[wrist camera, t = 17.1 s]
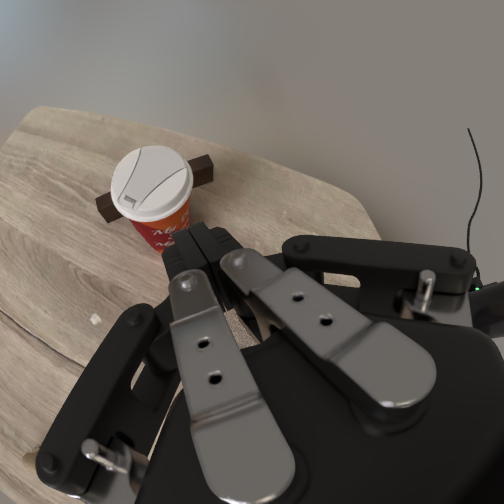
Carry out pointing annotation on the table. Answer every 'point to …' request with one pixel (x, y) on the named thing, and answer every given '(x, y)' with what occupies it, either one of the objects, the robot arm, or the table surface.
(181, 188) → the paper cup
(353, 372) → the robot arm
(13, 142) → the table surface
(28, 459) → the decorative ornament
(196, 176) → the bar
